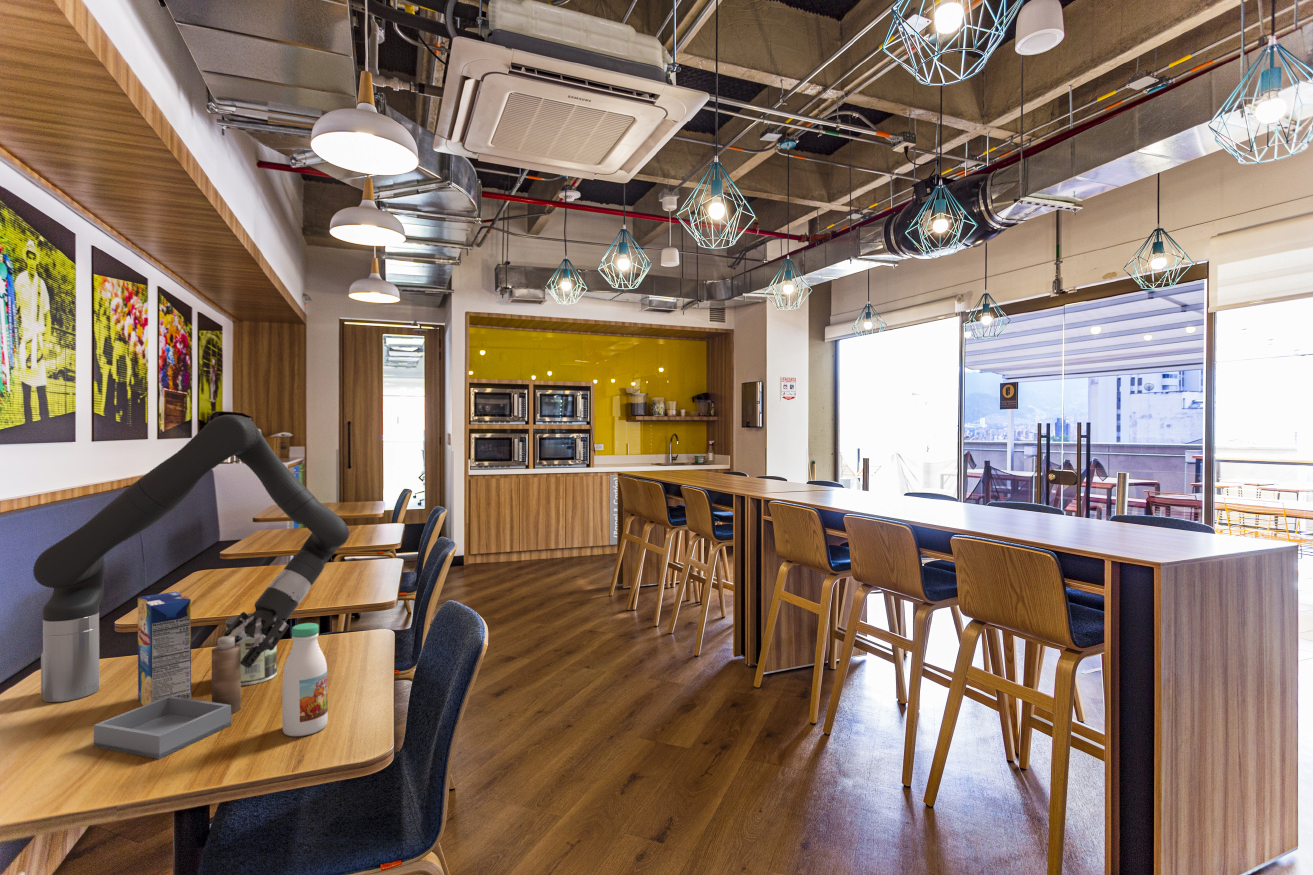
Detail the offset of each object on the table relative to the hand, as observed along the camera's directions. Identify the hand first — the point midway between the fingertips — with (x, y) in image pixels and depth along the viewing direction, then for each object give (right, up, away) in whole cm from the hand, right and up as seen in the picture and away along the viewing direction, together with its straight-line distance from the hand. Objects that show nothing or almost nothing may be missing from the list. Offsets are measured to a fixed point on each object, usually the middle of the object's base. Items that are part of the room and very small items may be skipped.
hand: (231, 662), depth 137 cm
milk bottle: (+20, -10, -9) cm, 24 cm away
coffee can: (-7, -10, +18) cm, 21 cm away
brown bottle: (-1, -10, -1) cm, 10 cm away
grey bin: (-5, -10, -12) cm, 16 cm away
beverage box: (-17, -10, +4) cm, 20 cm away
